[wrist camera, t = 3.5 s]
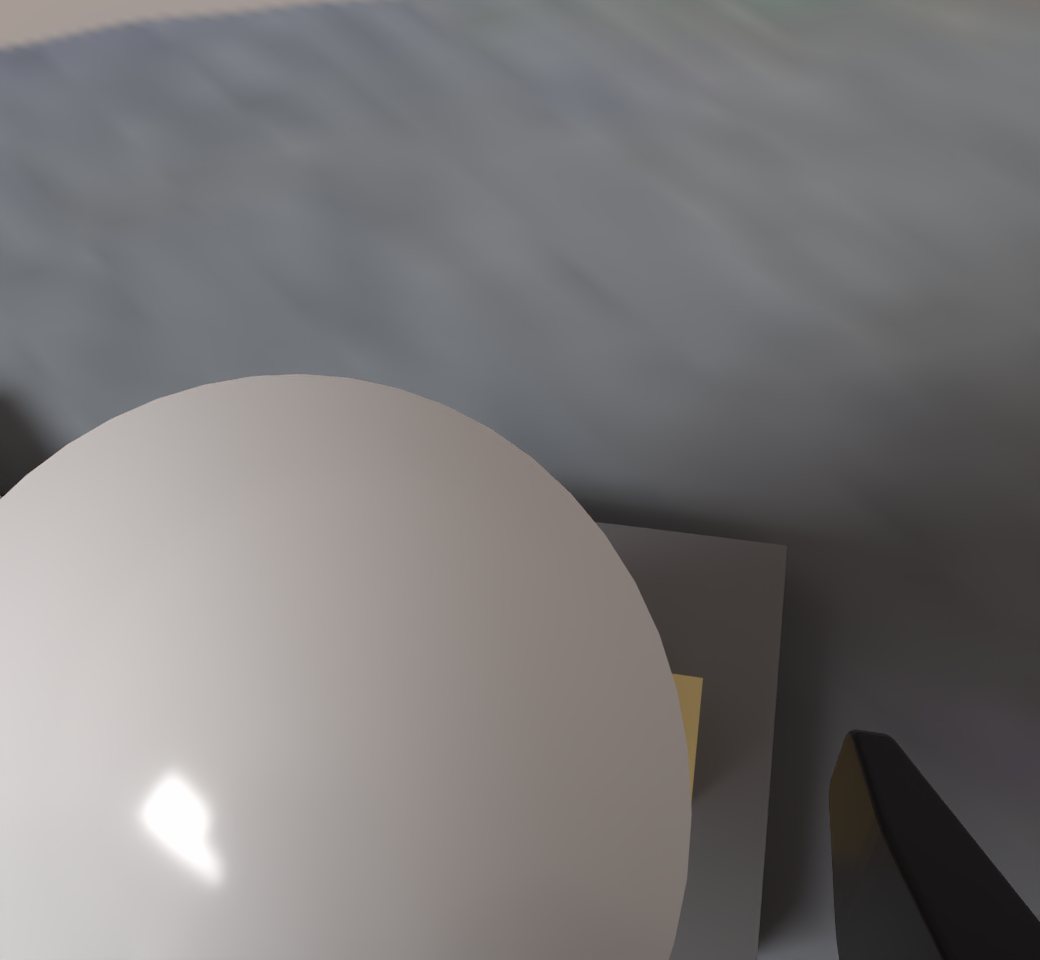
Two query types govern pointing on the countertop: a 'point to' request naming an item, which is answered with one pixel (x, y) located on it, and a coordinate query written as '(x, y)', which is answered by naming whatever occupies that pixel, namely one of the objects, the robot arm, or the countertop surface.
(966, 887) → the robot arm
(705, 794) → the fuse block
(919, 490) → the countertop surface
